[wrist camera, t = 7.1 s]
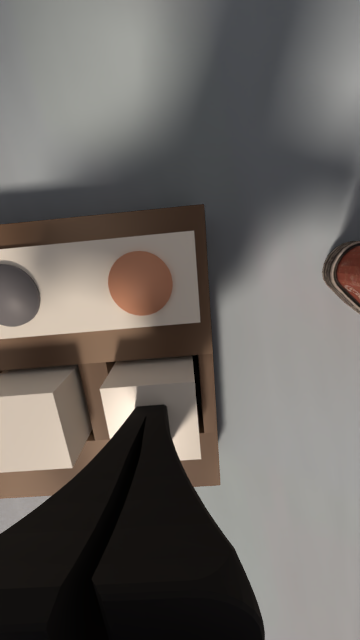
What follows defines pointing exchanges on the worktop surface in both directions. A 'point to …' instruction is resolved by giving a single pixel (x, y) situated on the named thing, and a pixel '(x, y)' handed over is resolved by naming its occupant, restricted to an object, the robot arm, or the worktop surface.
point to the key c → (155, 397)
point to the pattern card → (99, 285)
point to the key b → (42, 418)
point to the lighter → (344, 273)
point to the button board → (116, 341)
